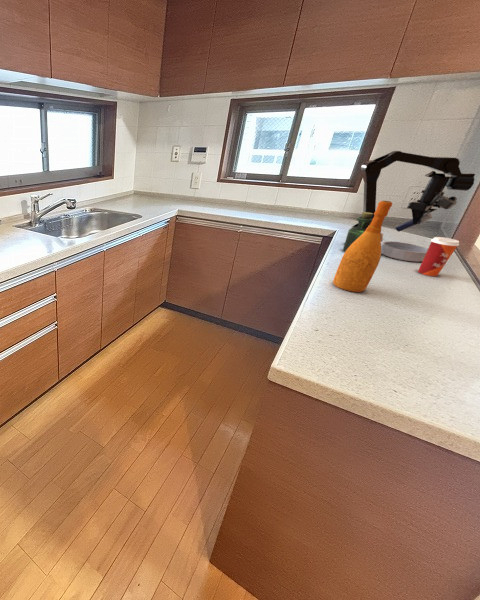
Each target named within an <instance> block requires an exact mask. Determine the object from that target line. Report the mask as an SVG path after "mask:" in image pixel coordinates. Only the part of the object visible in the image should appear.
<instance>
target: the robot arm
mask: <svg viewBox="0 0 480 600" xmlns="http://www.w3.org/2000/svg"><path fill="white" fill-rule="evenodd" d="M395 162H400V163H407V164H413V165H416V166H417V165H419V166H422V167H423V166H424V167H426V168H428V169H431V170H432V171H430V172H429V173H426V174H425V175H424V177H427V178H429V180H428V181H427V184H426V185H425V188H424V189H423V190H421V196H420V198H419V199H417V201H412V202H409V203H408V205H407V206H406V208H407V209H410V210H411V215H412V219H413V224H414V226H416V225H420V224H421V223H418V222H419V221H420V219H421V218H422V217H423V215H424V214H425V213H427V212H429V213H430V214H431V213H432V212H435V211H437V210H438V209H444V210H450V209H451V208H452V207H453V206H455V205H457V203H458V201H457V200H458V197H456V196H454V195H453V196H450V197H448V196H445V191H444V190H445V188H447V190H449V191H450V190H451V191H465V192H467V191H469V190H470V189H472V187H473V185H474V184H475V176H476V173H471V172H468V173H467V172H466V173H464V172H463V173H462V171H461V169H460V163H461V162H460V159H459V158H457V157H453V156H451V157H450V156H426V155H421V154H415V153H409V152H403V151H402V150H401V151H400V150H393V151H392V150H391V152H388V153H386V154H384V155H382V156H380V157H379V156H378V157H377V158H374V159H371V160H367V161H365V162H364V163H362V165H361V166H360V172H361V178H362V179H363V210H362V212H369V213H373V215H372V216H371V219H373V218H374V216H375V215H374V212H375V211H376V209H377V206H376V204H377V185H378V184H377V183H378V180H379V178H380V175H381V172H382V170H383V169H385V168H386V167H389V166H390V165H392V164H394V163H395ZM436 171H437V172H436ZM440 172H441V173H440ZM446 175H447V176H446ZM448 175H449V176H448ZM360 217H362V215H361V216H360ZM417 223H418V224H417ZM370 224H371V222H370V223H369V224H368V225H367V226H366V228H368V226H369V225H370ZM357 226H358V223H356V224H354V225H352V226H351V228H353V227H357ZM344 244H345V242H344ZM344 244H343V245H344Z"/></svg>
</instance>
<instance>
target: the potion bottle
mask: <svg viewBox="0 0 480 600" xmlns="http://www.w3.org/2000/svg"><path fill="white" fill-rule="evenodd" d="M372 215H373V213H369V212H363V211H362V212H361V216H362V217H361V216H358V217H357V218H356V221H358V226H357V227H353V228H352V227H350V228H349V229H348V231H347V234H346V237H345V241H344V243H345V244H343V248H342V251H343V252H344V253H345V252H346V250H347V249H348V248H349V246H350V245H351V244H352V243H353V242H354V241H355V240H356V239H358V238H359V237H360V236H361V235H362V234H363V233H364V232H365V230H366V229H367V228H366V226H367V225H368V224H369V223H370V222H372V220H373V219H371V216H372Z"/></svg>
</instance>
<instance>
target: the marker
mask: <svg viewBox="0 0 480 600" xmlns="http://www.w3.org/2000/svg"><path fill="white" fill-rule="evenodd" d="M431 219H433V215H432V214H431V212H430V213H429V212H427V213H425V214H424V215H423V217H422V218H421V219H420V221H419V222H418V223H420V224H421V223H423V222H427V221H428V220H431ZM418 223H417V224H416V225H419V224H418ZM414 226H415V225H414V224H413V218H412V219H410V220H408V221H405V222H402V223H401V224H398V225H396V226H395V230H396V231H397V232H402V231H404V230H407V229H409V228H411V227H414Z"/></svg>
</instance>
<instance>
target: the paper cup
mask: <svg viewBox="0 0 480 600" xmlns="http://www.w3.org/2000/svg"><path fill="white" fill-rule="evenodd" d="M459 246H460V241H459V239H455V238H449V237H443V236H434V237H433V238H432V239H431V240H430V244H429V246H428V248H427V249H428V250H427V252H426V255H425V257H424V259H423V261H421V264H420V266H419V268H418V270H417V272H418V274H421V275H424V276H428V277H437V276H438V275H439V274H440V273H441V271H442V269H443V268H444V267H445V265H446V264H447V263H448V261H449V260H450V258H451V256H452V255H453V253H454V252H455V251H456V249H457V247H459Z"/></svg>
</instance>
